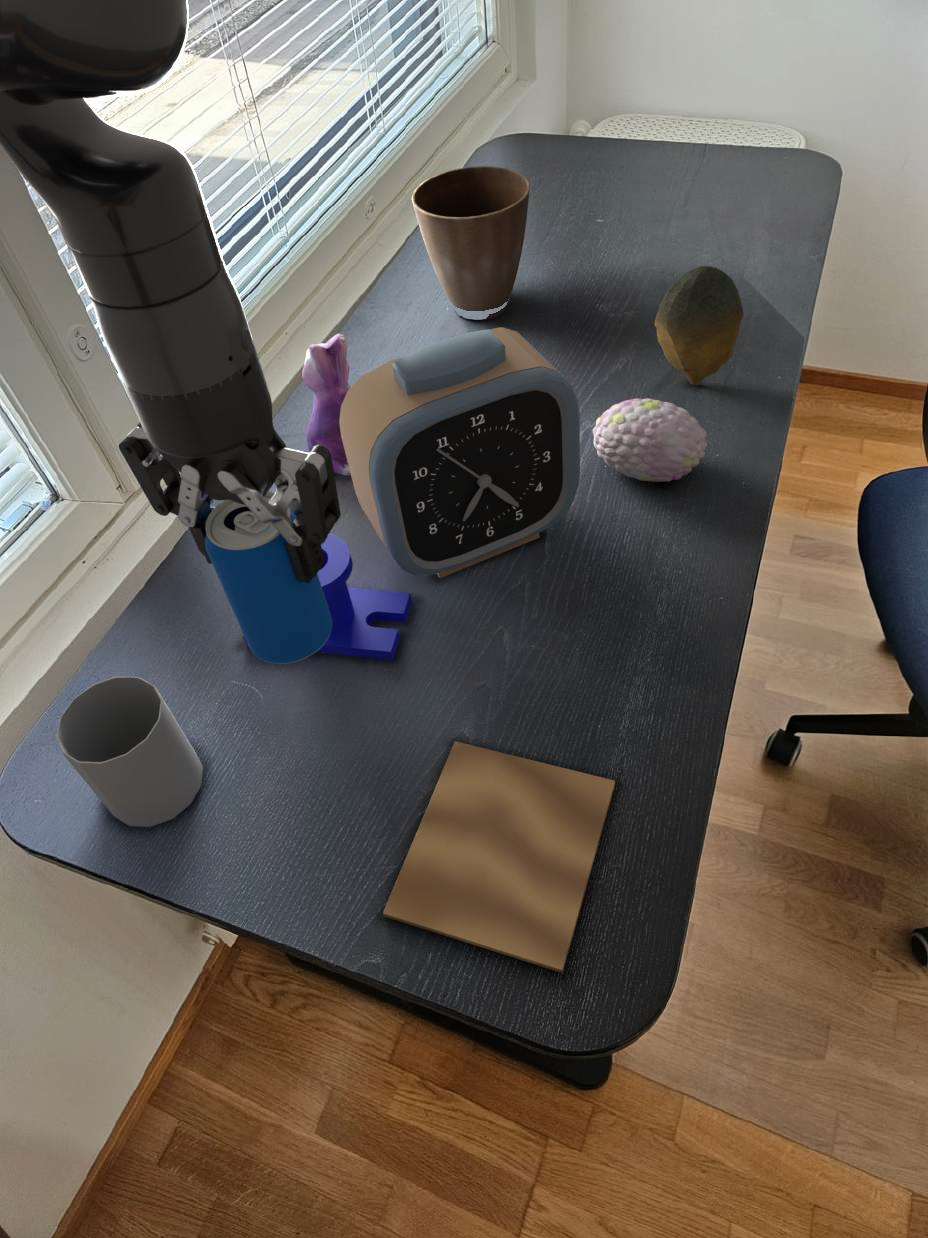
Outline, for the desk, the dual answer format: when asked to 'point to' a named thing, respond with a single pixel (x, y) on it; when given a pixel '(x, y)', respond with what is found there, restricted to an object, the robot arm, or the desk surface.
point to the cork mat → (504, 855)
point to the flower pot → (474, 232)
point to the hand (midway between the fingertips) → (265, 564)
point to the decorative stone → (699, 322)
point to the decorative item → (649, 440)
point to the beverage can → (266, 585)
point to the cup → (130, 751)
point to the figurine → (328, 397)
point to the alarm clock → (462, 449)
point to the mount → (357, 608)
